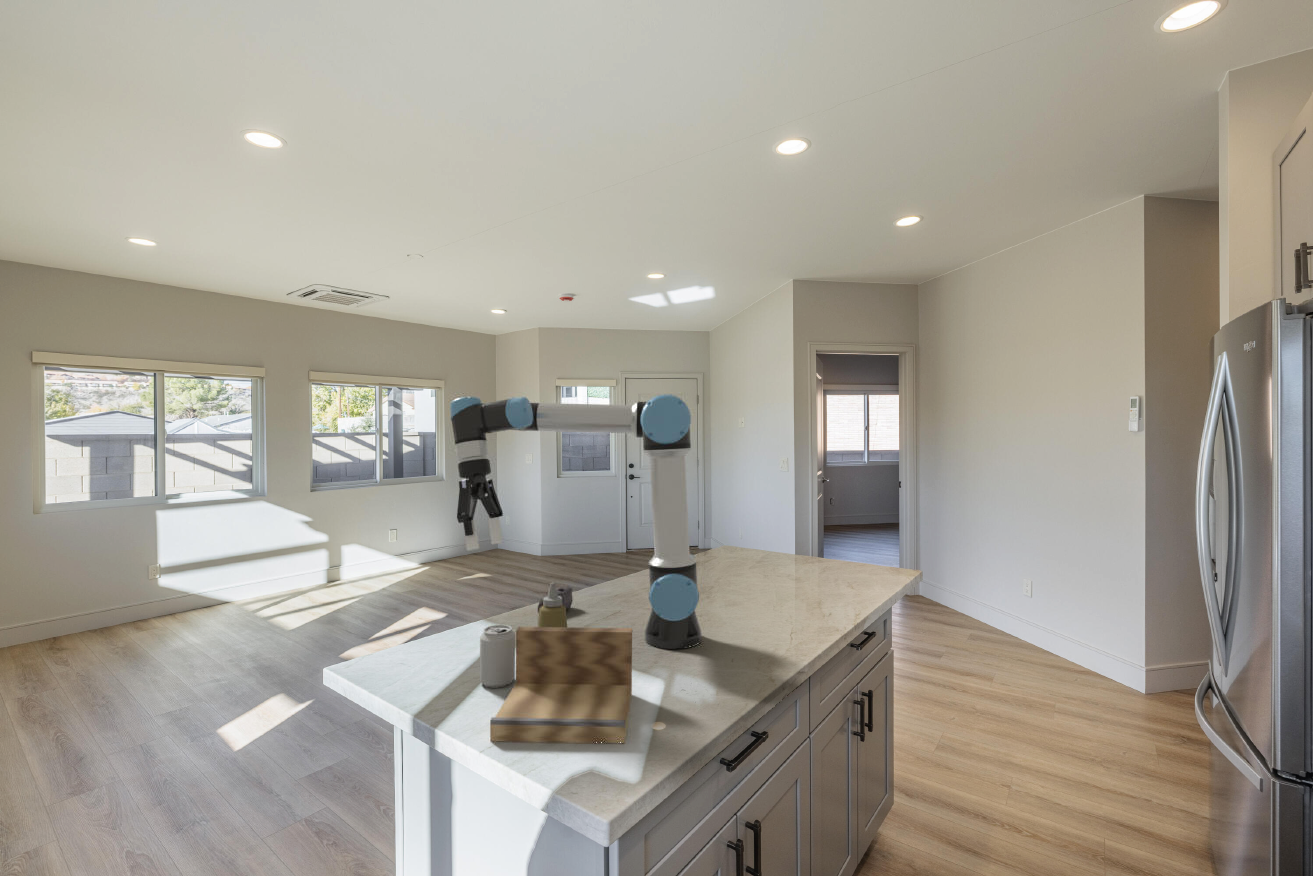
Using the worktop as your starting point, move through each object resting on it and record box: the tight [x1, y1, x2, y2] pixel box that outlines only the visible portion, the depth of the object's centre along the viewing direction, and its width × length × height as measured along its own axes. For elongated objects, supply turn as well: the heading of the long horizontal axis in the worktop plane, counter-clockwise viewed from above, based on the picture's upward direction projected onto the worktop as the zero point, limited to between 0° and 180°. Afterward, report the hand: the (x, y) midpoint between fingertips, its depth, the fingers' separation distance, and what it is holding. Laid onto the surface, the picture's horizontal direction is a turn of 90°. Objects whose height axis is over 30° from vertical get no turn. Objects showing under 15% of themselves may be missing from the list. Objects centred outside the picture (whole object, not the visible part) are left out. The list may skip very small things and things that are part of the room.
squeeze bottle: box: [537, 582, 568, 627], centre depth 146 cm, size 8×8×18 cm
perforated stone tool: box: [537, 585, 574, 614], centre depth 181 cm, size 15×5×7 cm, turn 147°
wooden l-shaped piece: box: [489, 626, 633, 744], centre depth 115 cm, size 24×20×14 cm
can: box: [479, 624, 516, 689], centre depth 130 cm, size 8×8×12 cm
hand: (485, 546), depth 143 cm, fingers open, 13 cm apart
